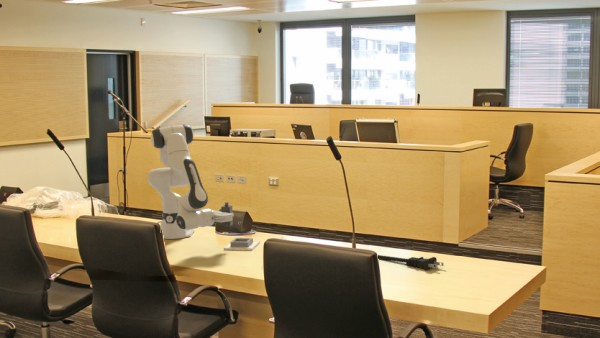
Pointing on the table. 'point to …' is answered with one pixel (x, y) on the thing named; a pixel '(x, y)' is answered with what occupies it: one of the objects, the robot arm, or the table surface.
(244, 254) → the table surface
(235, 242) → the socket
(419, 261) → the electrical plug
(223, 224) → the dark grey square bottle
